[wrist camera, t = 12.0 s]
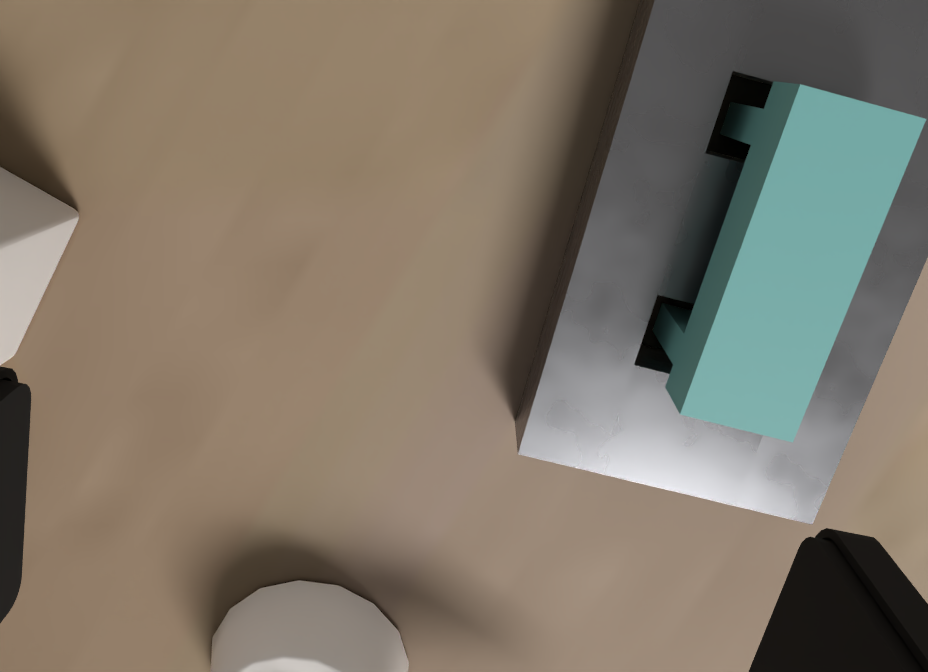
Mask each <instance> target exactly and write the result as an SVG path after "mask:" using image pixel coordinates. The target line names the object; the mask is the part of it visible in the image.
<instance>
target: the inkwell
mask: <svg viewBox="0 0 928 672" xmlns="http://www.w3.org/2000/svg"><path fill="white" fill-rule="evenodd" d="M408 667H409V662H408V659H407V656H406V652H405V649H404V646H403V643H402V640H401V637H400V633H399V631H398V630H397V629H396V628H395V627H394V625H393V624H392V623H391V622H390V621H389V620H388V619H387V618H386V617H385V616H384V614H383V613H382V612H381V611H380V610H379V609H378V608H377V607H376V606H375V605H374V604H373V603H372V602H370V601H368V600H366V599H364V598H362V597H360V596H358V595H356V594H355V593H353V592H351V591H349V590H347V589H345V588H343V587H341V586H339V585H333V584H325V583H318V582H310V581H302V580H298V581H293V582H288V583H284V584H279V585H274V586H269V587H264V588H260V589H258V590H257V591H255V592H254V593H252V594H251V595H250V596H248V597H247V598H245V599H244V600H242V601H241V602H239V603H238V604H236V605H235V606H233V607H232V608H230V610H229V611H228V613H227V615H226V616H225V618H224V619H223V621H222V623H221V624H220V626H219V628H218V629H217V631H216V632H215V634H214V636H213V638H212V655H211V672H408Z"/></svg>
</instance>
